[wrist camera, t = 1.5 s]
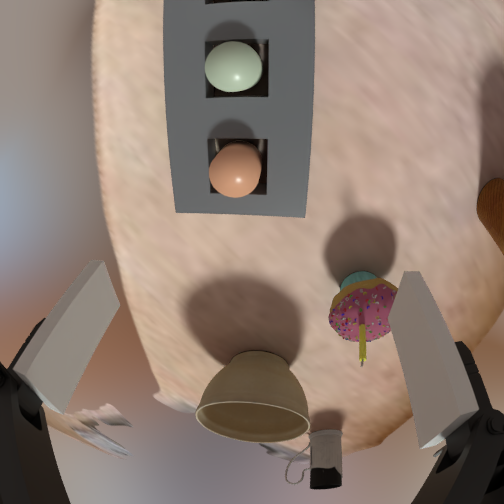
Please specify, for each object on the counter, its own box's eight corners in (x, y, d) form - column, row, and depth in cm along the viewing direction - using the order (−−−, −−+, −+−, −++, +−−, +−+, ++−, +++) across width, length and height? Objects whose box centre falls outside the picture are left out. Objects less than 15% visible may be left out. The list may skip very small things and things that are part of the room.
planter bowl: (239, 319, 38) (226, 389, 29) (329, 359, 42) (334, 421, 32) (194, 368, 46) (179, 422, 37) (272, 398, 50) (268, 449, 41)
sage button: (214, 48, 19) (204, 43, 16) (263, 46, 19) (260, 40, 16) (215, 91, 21) (205, 93, 19) (263, 90, 21) (260, 91, 18)
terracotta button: (217, 140, 24) (207, 149, 21) (262, 141, 24) (259, 150, 21) (218, 182, 26) (210, 197, 23) (262, 183, 26) (259, 198, 23)
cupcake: (317, 305, 35) (323, 388, 25) (338, 250, 31) (358, 334, 21) (376, 314, 35) (396, 390, 25) (403, 263, 31) (439, 340, 21)
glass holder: (341, 438, 62) (343, 487, 49) (288, 442, 65) (286, 491, 52) (343, 427, 57) (345, 482, 45) (285, 432, 60) (282, 486, 48)
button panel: (177, -40, 15) (166, -50, 12) (309, -47, 14) (311, -60, 11) (185, 200, 29) (175, 212, 27) (303, 204, 28) (305, 217, 26)
